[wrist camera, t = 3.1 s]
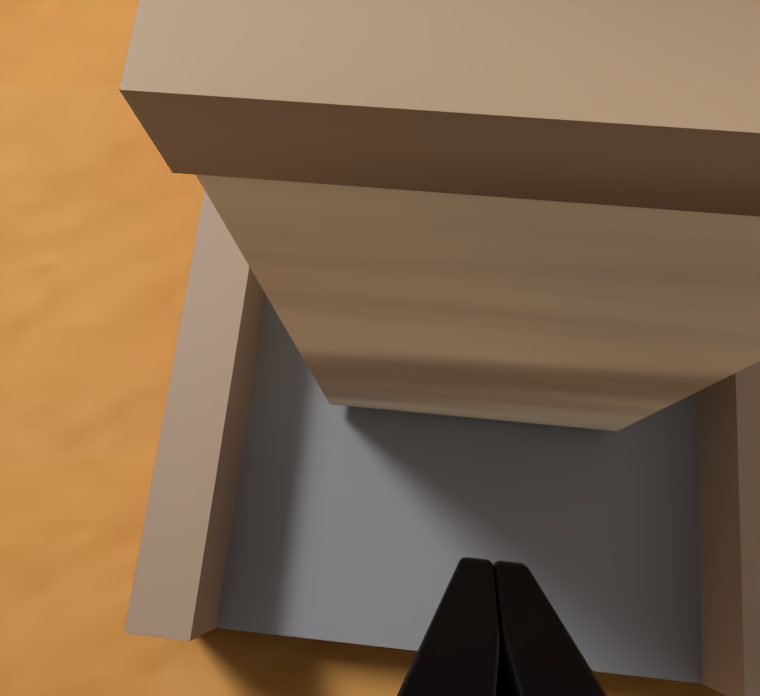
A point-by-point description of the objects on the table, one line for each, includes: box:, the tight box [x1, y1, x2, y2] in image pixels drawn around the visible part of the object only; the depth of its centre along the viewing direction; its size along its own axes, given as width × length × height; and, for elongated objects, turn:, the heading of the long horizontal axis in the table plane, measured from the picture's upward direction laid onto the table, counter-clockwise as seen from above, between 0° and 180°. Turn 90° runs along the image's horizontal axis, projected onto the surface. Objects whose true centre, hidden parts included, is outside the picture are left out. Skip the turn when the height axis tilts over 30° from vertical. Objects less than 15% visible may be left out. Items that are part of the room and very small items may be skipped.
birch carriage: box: [119, 0, 760, 431], centre depth 10 cm, size 5×6×11 cm
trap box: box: [124, 190, 760, 696], centre depth 15 cm, size 21×12×5 cm, turn 174°
